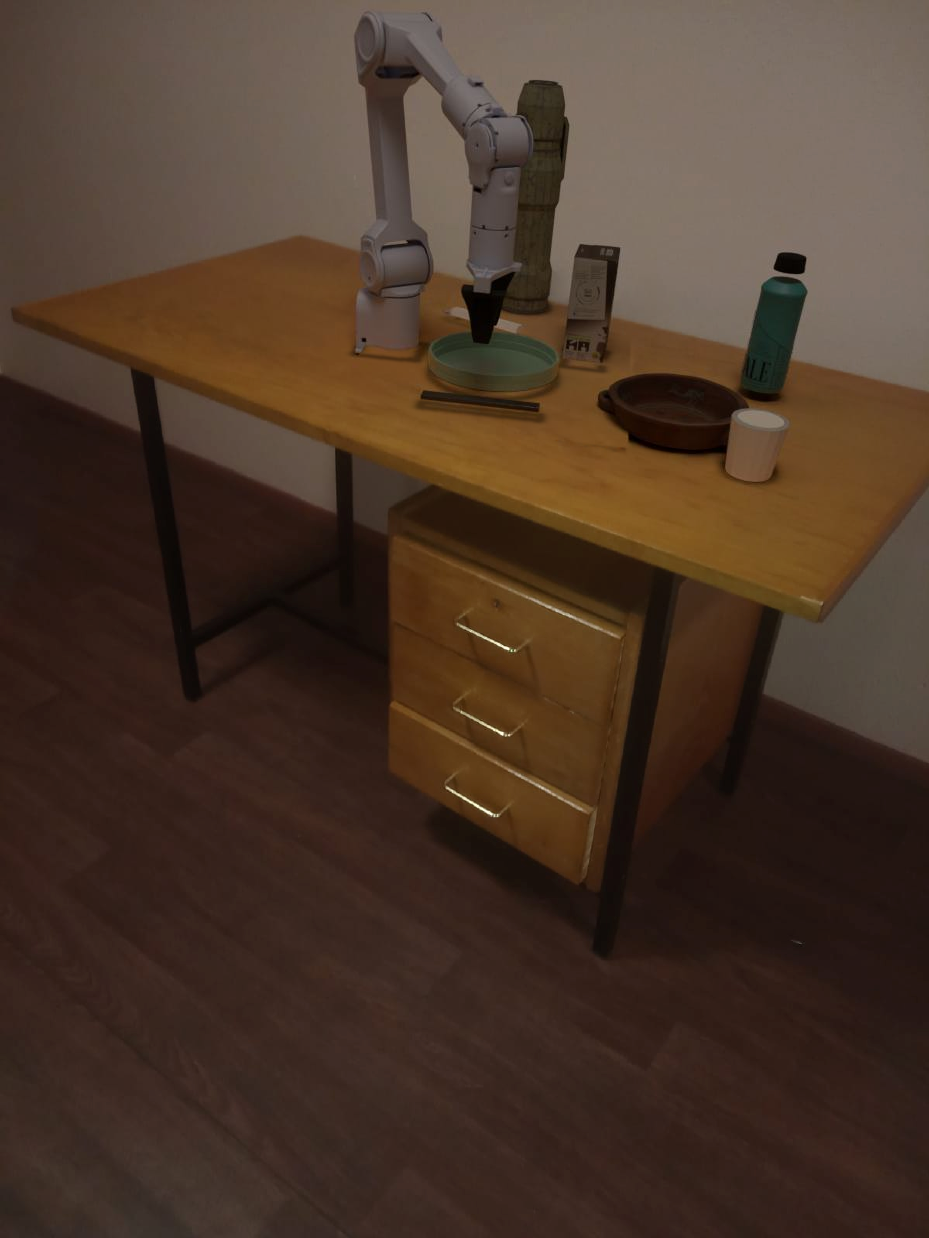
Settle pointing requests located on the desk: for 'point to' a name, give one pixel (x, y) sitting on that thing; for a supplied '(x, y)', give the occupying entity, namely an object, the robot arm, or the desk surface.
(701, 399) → the dish
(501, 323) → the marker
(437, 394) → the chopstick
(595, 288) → the coffee box
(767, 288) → the beverage bottle
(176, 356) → the desk surface
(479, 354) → the green round tray
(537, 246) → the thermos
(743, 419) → the white short cylinder
